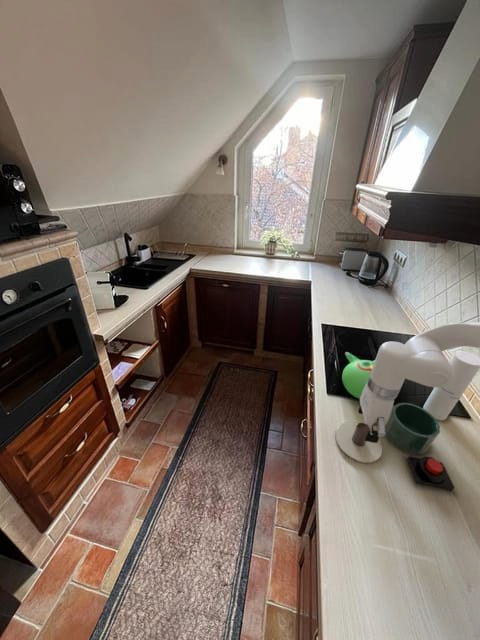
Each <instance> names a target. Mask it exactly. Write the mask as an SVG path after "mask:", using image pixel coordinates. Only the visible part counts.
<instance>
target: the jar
mask: <svg viewBox="0 0 480 640" xmlns="http://www.w3.org/2000/svg"><path fill="white" fill-rule="evenodd" d="M384 427H385V436H386V437H387V438H388V441H390V442H391V443H392V444H393V445H394V447H397V448H398V449H400V450H401V451H402V452H405V453H408V454H411V455H423V454H425V453H427V452H428V451H429V449H430V448H431V446H432V444H433V443H434V442H435V440H436V439H437V438H438V436H439V434H440V433H441V426H440V424H439V422H438V419H435V418H434V417H433V416H432V415H431V414H430V413H429V412H427V411H426V410H424V408H423V407H421V406H418V405H416V404H414V403H409V402H401V403H397V404H395V405H393V407H392V410H391V413H390V416H389V419H388V421H387V423H386V425H385V426H384Z"/></svg>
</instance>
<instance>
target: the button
mask: <svg viewBox="0 0 480 640" xmlns="http://www.w3.org/2000/svg"><path fill="white" fill-rule="evenodd" d="M438 461H439V460H438V459H435V458H434V459H428V460H427V462H426V463H425V467H426V469H427V470H428V471H429V472H430V473H432V474H434V475H439V474H440V473H441V472H442V470H443V467H442V465H441V464H440V463H439V462H440V461H439V462H438Z"/></svg>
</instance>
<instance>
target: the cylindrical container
mask: <svg viewBox="0 0 480 640" xmlns="http://www.w3.org/2000/svg"><path fill="white" fill-rule="evenodd" d="M448 362H449V363H450V365H451V366H452V368H453V370H454V373H455V378H454V381H453V382H452V383H451V384H450V385H448V386H446V387H441V388H435V387H433V389H432V390H431V393H430V394H429V396H428V397H427V399H426V401H425V403H424V405H423V407H422V408H423V409H424V410H426V411H427V412H429V413H430V414H431V415H432V416H433V417H434V418H435V419H436V420H437V421H445V420H446V419H448V416H449V415H450V413H451V412H452V411H453V409H454V408H455V406H456V405H457V403H459V400H460V399H461V398H462V396H463V394H464V393H465V392H466V390H467V389H468V387H469V386H470V384H471V382H472V381H473V379H474V378H475V376H476V375H477V373H478V372H479V370H480V357H479V356H477V354H474V353H472V352H469V351H465V350H456V351H454V353H453V355H452V356H451V358H450V360H448Z"/></svg>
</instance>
